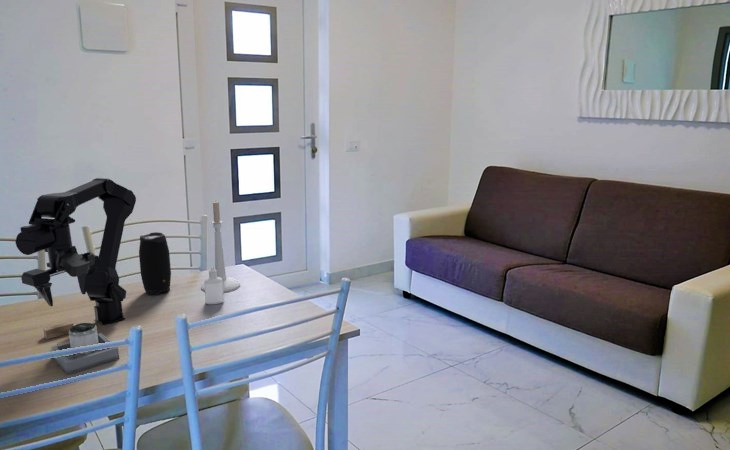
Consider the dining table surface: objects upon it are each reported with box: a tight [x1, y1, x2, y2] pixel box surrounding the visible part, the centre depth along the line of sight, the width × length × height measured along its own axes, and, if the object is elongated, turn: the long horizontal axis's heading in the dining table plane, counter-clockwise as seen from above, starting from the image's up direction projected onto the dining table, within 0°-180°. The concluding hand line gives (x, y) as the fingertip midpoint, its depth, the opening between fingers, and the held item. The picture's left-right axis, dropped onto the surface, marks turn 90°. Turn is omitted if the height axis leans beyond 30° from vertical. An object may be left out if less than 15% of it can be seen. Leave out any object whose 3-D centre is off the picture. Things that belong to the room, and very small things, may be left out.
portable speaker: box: [138, 231, 172, 296], centre depth 185 cm, size 9×9×20 cm
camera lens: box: [68, 322, 98, 359], centre depth 140 cm, size 6×6×8 cm
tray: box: [51, 332, 120, 376], centre depth 140 cm, size 12×12×3 cm
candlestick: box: [201, 200, 241, 294], centre depth 188 cm, size 13×13×30 cm
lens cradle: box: [43, 321, 75, 345], centre depth 150 cm, size 7×14×2 cm, turn 44°
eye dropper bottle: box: [203, 265, 225, 305], centre depth 176 cm, size 4×6×12 cm
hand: (67, 299), depth 147 cm, fingers open, 9 cm apart
